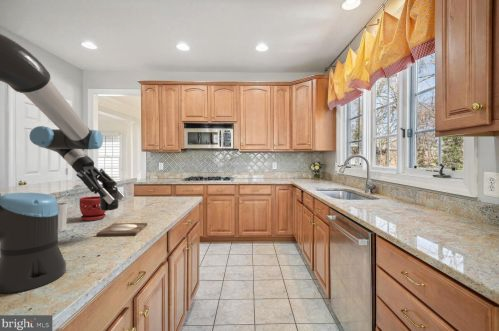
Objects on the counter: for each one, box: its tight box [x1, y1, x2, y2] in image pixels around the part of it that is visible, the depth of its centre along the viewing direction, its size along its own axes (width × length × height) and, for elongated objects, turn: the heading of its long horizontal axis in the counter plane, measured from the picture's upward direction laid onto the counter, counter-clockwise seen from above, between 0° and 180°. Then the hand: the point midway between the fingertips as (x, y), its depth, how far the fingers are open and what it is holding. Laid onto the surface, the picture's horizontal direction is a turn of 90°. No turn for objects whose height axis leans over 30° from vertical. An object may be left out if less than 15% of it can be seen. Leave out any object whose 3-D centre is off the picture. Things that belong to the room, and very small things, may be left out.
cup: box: [57, 202, 69, 232], centre depth 111 cm, size 8×8×12 cm
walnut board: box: [95, 222, 148, 237], centre depth 110 cm, size 16×16×2 cm
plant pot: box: [79, 195, 107, 222], centre depth 131 cm, size 13×13×12 cm
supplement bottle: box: [99, 180, 119, 212], centre depth 102 cm, size 7×7×12 cm
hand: (117, 200), depth 102 cm, fingers closed on supplement bottle, 7 cm apart
